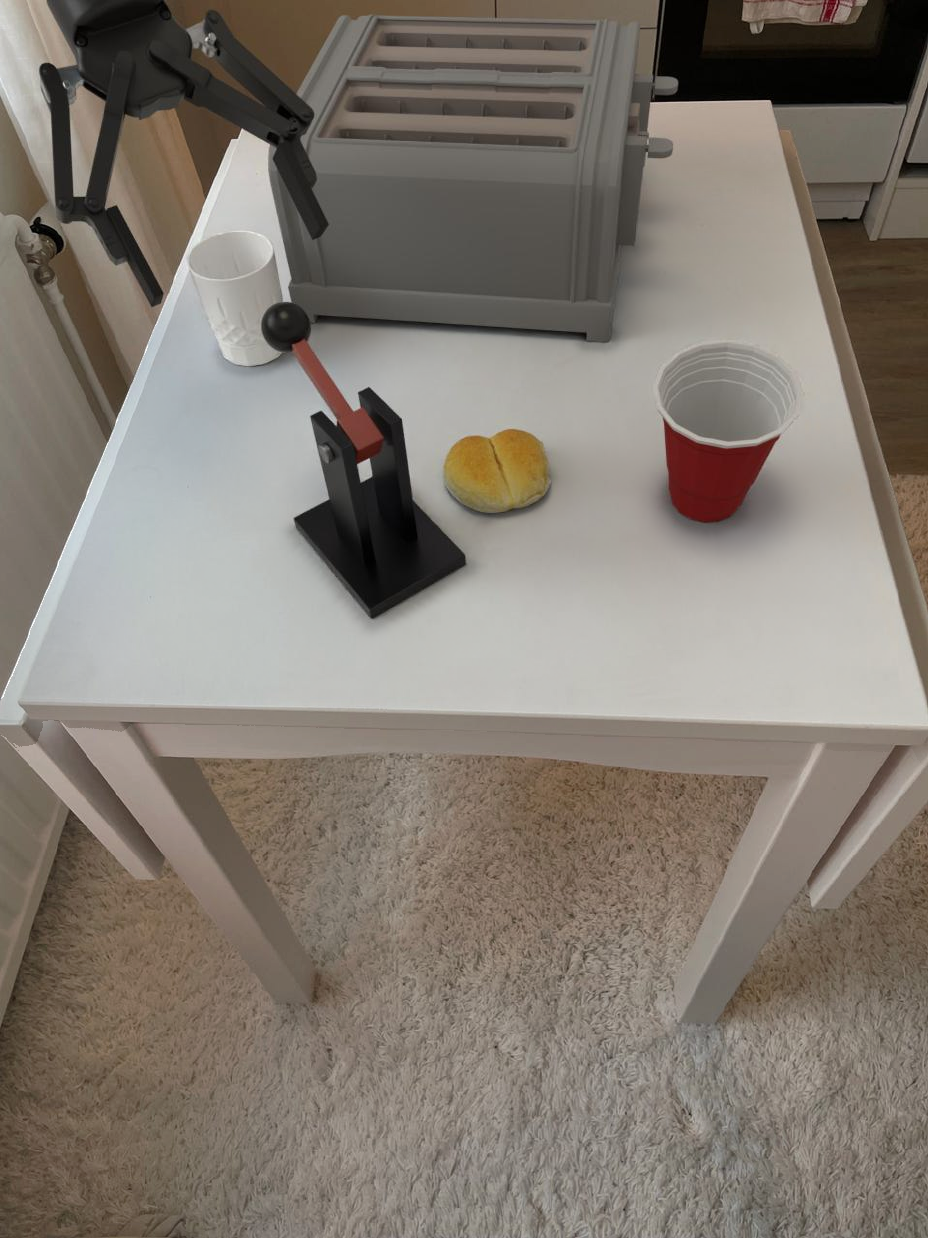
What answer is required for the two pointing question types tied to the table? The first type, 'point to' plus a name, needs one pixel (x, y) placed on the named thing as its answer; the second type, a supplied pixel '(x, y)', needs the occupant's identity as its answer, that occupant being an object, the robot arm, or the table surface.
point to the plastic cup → (722, 421)
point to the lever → (319, 375)
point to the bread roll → (497, 471)
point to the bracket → (374, 517)
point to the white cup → (237, 291)
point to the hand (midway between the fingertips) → (241, 265)
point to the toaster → (472, 171)
